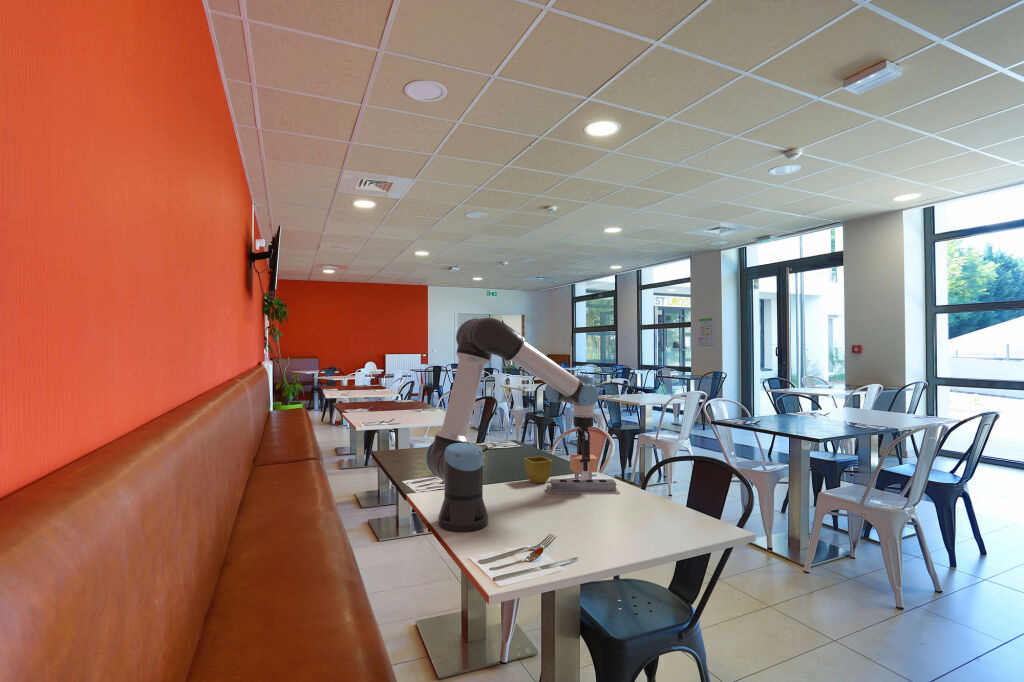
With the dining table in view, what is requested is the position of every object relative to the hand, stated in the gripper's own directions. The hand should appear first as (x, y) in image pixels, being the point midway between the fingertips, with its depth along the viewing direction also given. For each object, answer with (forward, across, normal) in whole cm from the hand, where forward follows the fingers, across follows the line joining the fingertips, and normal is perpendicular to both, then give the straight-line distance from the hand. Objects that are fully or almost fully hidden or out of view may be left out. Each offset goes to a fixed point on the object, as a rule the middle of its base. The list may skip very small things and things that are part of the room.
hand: (583, 476), depth 196 cm
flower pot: (+5, +12, +16) cm, 21 cm away
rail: (+5, 0, 0) cm, 5 cm away
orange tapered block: (+1, 0, 0) cm, 1 cm away
